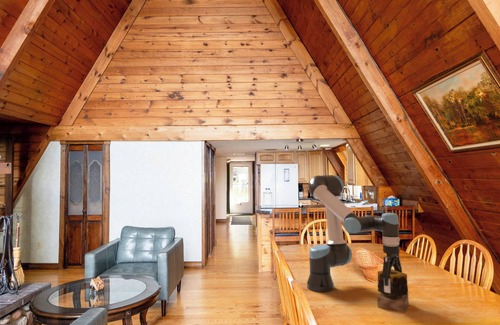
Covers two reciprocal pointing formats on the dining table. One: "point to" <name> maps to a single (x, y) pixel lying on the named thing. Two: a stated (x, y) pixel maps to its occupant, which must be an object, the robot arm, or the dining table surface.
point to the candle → (394, 284)
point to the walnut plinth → (393, 302)
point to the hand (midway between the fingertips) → (392, 288)
